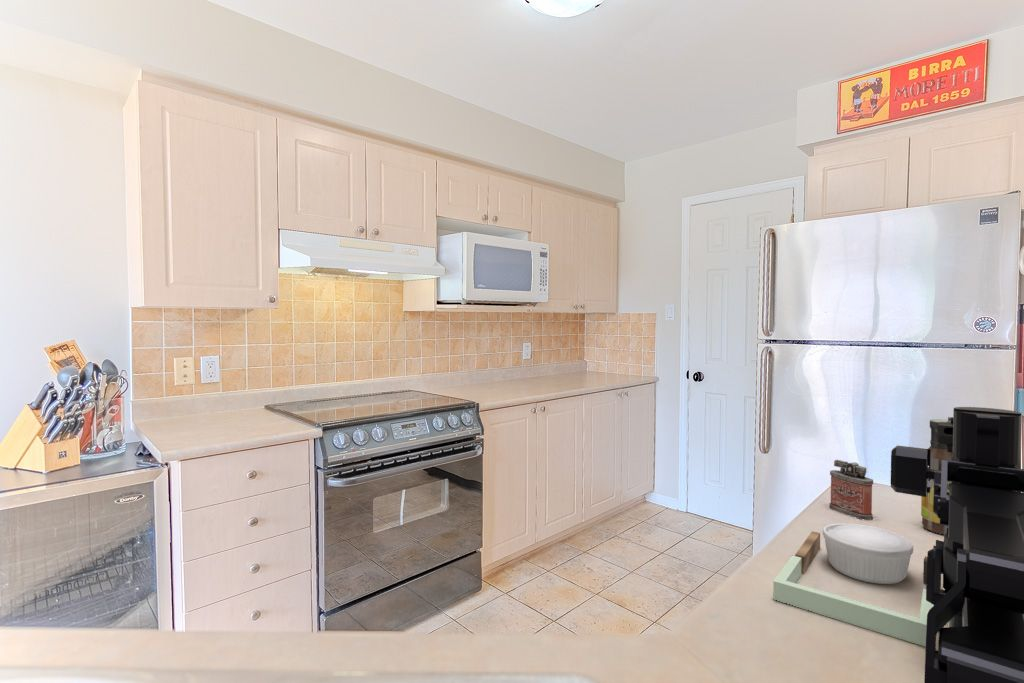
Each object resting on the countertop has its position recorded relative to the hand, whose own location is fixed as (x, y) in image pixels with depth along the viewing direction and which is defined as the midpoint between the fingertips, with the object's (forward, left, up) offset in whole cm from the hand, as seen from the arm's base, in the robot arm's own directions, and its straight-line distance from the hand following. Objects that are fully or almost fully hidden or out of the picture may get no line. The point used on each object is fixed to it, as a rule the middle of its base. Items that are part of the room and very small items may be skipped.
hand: (978, 467), depth 73 cm
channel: (-6, +12, -17) cm, 22 cm away
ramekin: (-5, +12, -17) cm, 22 cm away
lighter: (+23, +18, -17) cm, 33 cm away
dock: (-18, +12, -16) cm, 27 cm away
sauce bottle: (+23, +4, -17) cm, 28 cm away
